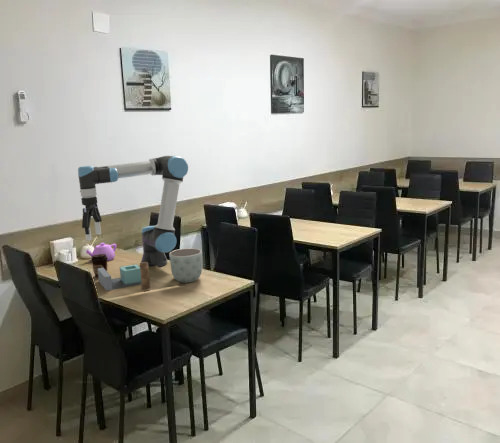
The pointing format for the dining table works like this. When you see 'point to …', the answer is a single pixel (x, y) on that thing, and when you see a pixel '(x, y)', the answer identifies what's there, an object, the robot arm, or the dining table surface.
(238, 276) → the dining table surface
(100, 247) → the teapot
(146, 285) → the dowel
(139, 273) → the block
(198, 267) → the planter
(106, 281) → the jig
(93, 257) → the coffee cup
